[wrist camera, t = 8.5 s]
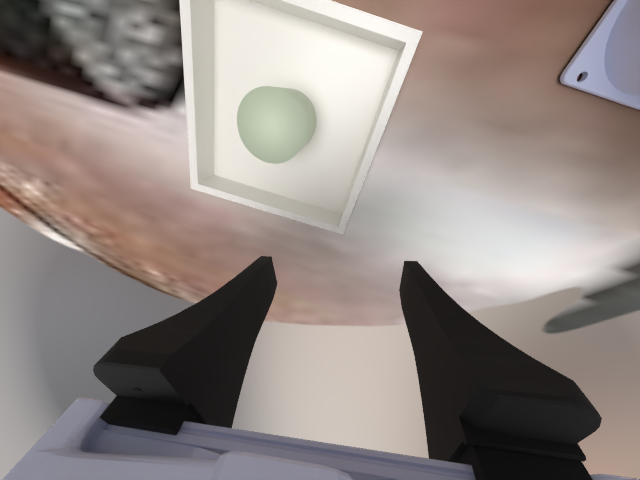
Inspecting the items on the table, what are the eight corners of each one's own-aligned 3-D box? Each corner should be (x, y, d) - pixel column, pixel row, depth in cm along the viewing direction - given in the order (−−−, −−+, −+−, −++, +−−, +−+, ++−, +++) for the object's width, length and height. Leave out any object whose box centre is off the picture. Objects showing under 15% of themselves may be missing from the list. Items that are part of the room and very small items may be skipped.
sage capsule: (323, 100, 16) (313, 102, 12) (308, 155, 18) (295, 172, 14) (270, 79, 16) (240, 74, 12) (261, 137, 18) (233, 150, 14)
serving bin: (411, 42, 14) (422, 31, 12) (344, 218, 22) (342, 235, 19) (208, -26, 14) (176, -52, 11) (210, 177, 21) (190, 188, 19)
